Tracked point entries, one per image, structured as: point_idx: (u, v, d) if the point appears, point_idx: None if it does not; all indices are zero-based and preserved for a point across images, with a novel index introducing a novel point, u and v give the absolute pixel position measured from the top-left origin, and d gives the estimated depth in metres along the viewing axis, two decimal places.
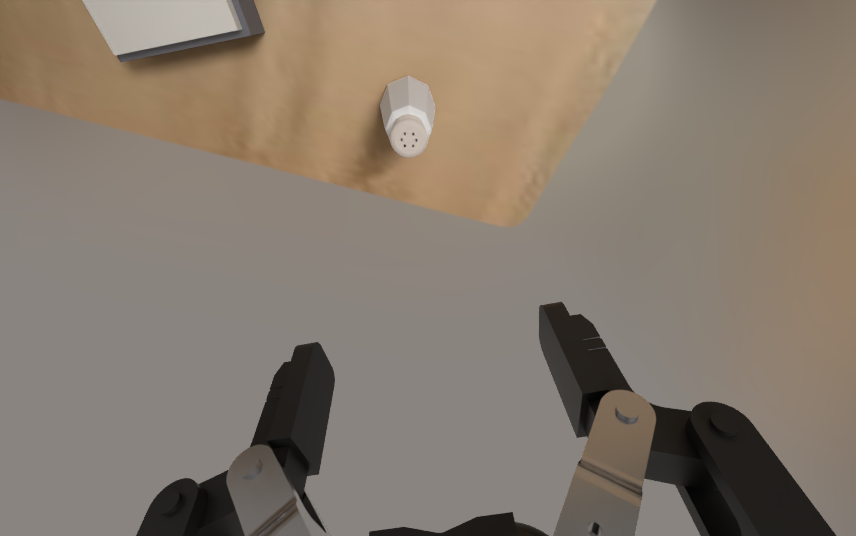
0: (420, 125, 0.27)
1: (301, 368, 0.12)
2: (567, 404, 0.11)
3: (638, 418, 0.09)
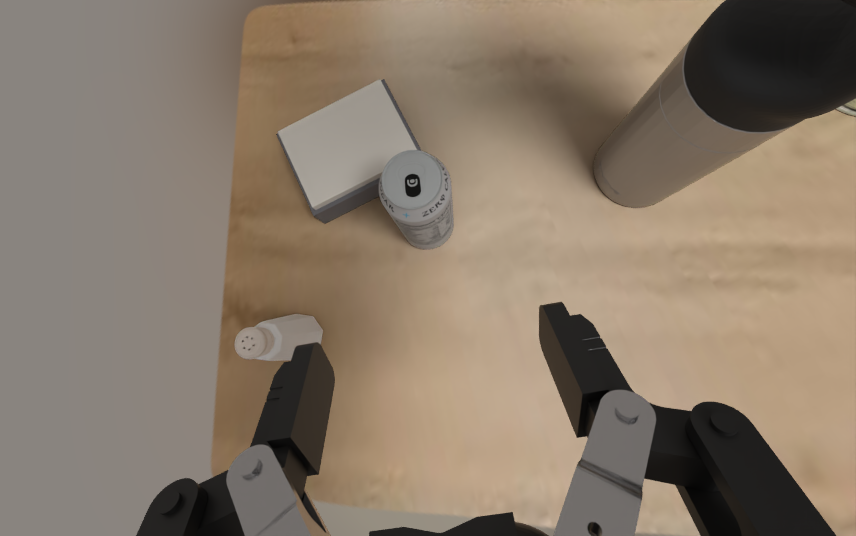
0: (261, 349, 0.32)
1: (301, 368, 0.12)
2: (567, 404, 0.11)
3: (638, 418, 0.09)
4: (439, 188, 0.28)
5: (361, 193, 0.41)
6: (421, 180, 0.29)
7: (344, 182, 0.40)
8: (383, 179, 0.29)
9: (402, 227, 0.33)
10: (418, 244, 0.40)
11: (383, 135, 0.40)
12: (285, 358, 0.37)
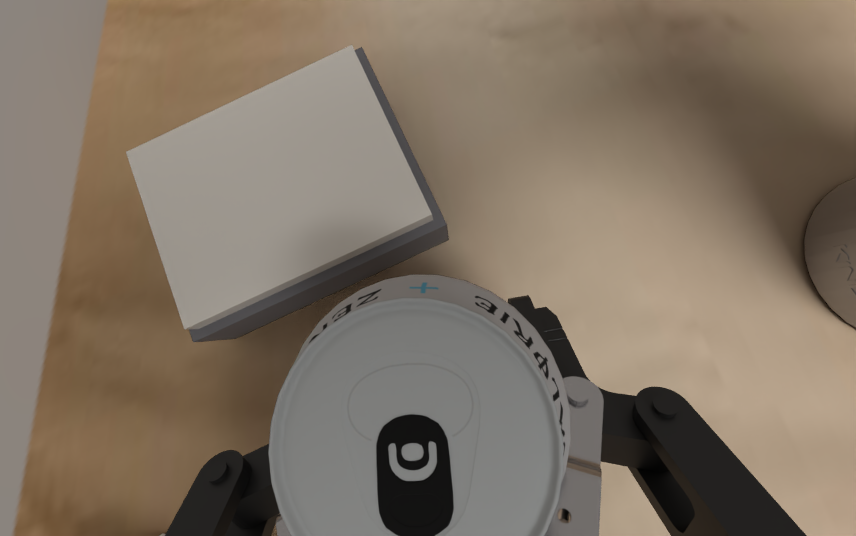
0: None
1: None
2: None
3: (586, 402, 0.09)
4: (547, 509, 0.06)
5: (302, 294, 0.19)
6: (455, 449, 0.06)
7: (260, 274, 0.18)
8: (279, 431, 0.06)
9: None
10: None
11: (353, 169, 0.18)
12: None
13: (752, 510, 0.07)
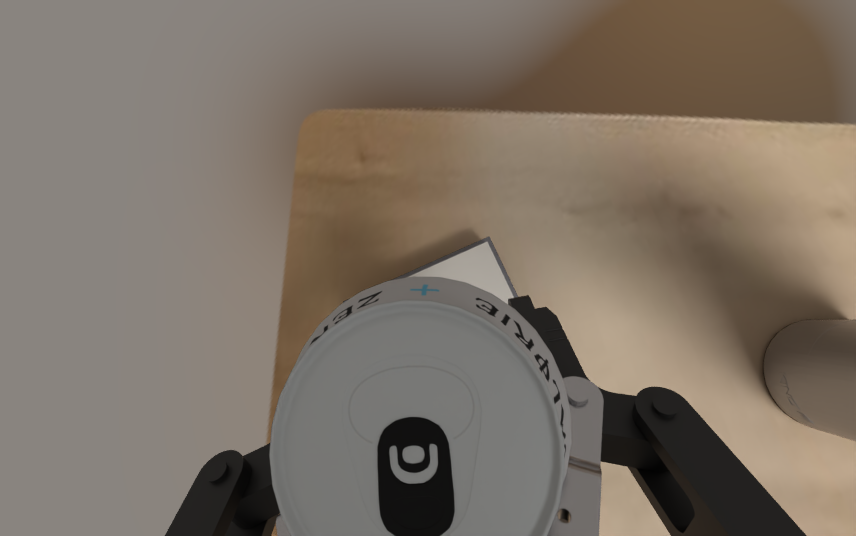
0: None
1: None
2: None
3: (586, 402, 0.09)
4: (548, 511, 0.06)
5: None
6: (456, 452, 0.06)
7: None
8: (280, 434, 0.06)
9: None
10: None
11: None
12: None
13: (753, 509, 0.07)
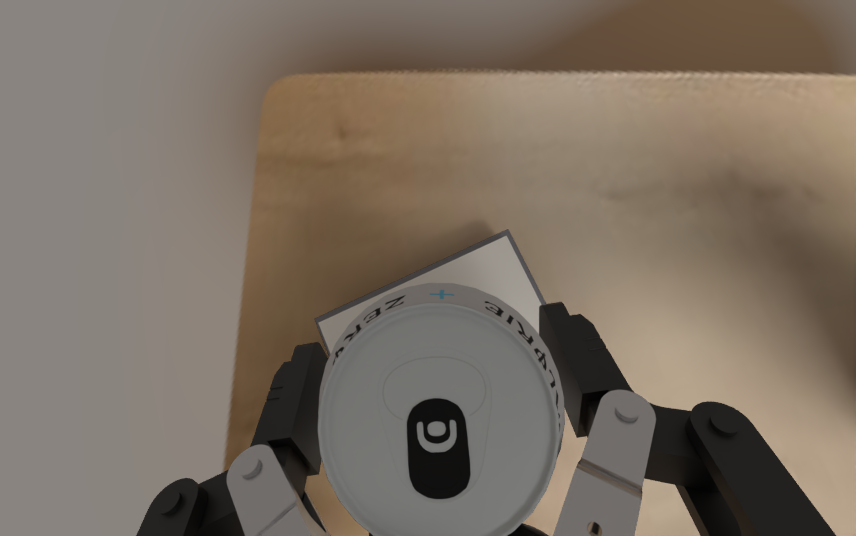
0: None
1: (301, 368, 0.12)
2: (567, 404, 0.11)
3: (638, 418, 0.09)
4: (546, 473, 0.07)
5: None
6: (472, 426, 0.07)
7: None
8: (326, 413, 0.08)
9: None
10: None
11: None
12: None
13: None
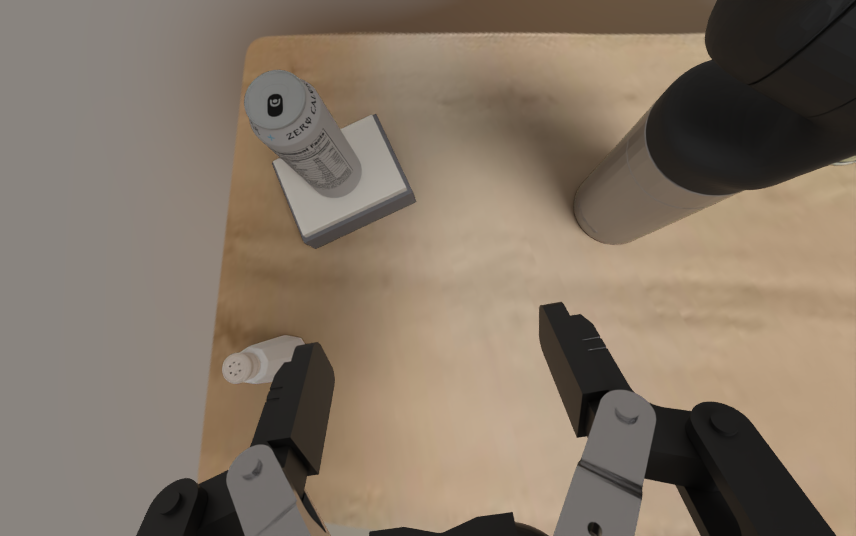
0: (247, 374, 0.34)
1: (301, 368, 0.12)
2: (567, 404, 0.11)
3: (638, 418, 0.09)
4: (301, 108, 0.28)
5: (350, 223, 0.43)
6: (284, 99, 0.28)
7: (334, 212, 0.42)
8: (246, 99, 0.28)
9: (283, 159, 0.32)
10: (319, 189, 0.39)
11: (373, 168, 0.42)
12: (271, 380, 0.39)
13: None
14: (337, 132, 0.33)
